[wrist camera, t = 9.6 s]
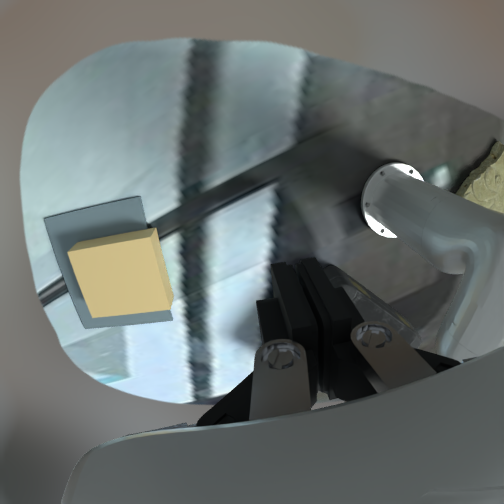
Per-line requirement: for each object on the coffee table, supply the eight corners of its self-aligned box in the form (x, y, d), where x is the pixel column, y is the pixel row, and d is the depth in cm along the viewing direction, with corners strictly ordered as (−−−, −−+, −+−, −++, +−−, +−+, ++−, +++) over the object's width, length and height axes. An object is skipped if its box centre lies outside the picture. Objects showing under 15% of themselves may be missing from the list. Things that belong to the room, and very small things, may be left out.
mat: (140, 196, 44) (139, 196, 44) (173, 319, 53) (172, 320, 53) (45, 218, 44) (44, 219, 43) (85, 327, 53) (85, 328, 52)
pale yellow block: (150, 237, 42) (67, 252, 42) (170, 309, 47) (92, 317, 46) (156, 226, 46) (78, 241, 46) (173, 295, 51) (100, 304, 50)
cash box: (255, 342, 57) (260, 371, 50) (328, 259, 51) (344, 282, 44) (344, 383, 65) (354, 408, 58) (408, 319, 59) (426, 342, 52)
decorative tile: (522, 195, 50) (532, 199, 47) (477, 259, 55) (487, 267, 52) (493, 133, 44) (505, 136, 41) (442, 204, 49) (453, 210, 46)
